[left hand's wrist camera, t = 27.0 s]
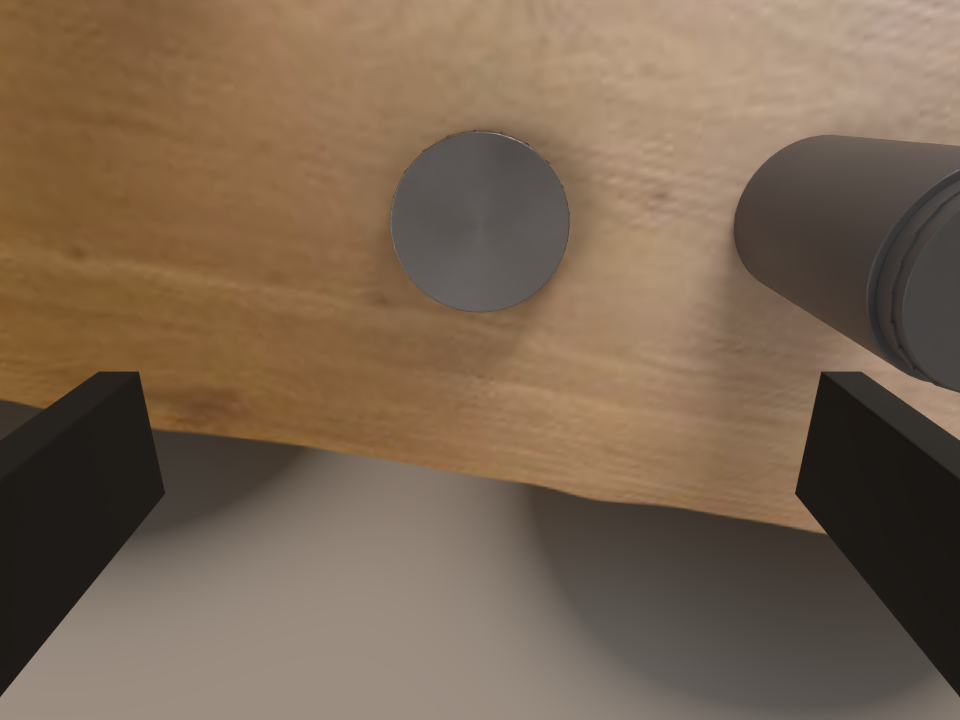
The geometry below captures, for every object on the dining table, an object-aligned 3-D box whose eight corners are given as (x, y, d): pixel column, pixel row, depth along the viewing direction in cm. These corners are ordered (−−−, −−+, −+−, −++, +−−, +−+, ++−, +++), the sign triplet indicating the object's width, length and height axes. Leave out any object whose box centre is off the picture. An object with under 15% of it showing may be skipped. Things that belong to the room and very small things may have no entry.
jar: (701, 241, 38) (839, 326, 23) (809, 101, 35) (1041, 98, 20) (815, 320, 39) (1008, 443, 25) (926, 192, 37) (1215, 250, 22)
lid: (558, 117, 35) (563, 117, 33) (572, 292, 39) (577, 302, 37) (379, 142, 36) (373, 144, 34) (410, 313, 39) (406, 323, 37)
